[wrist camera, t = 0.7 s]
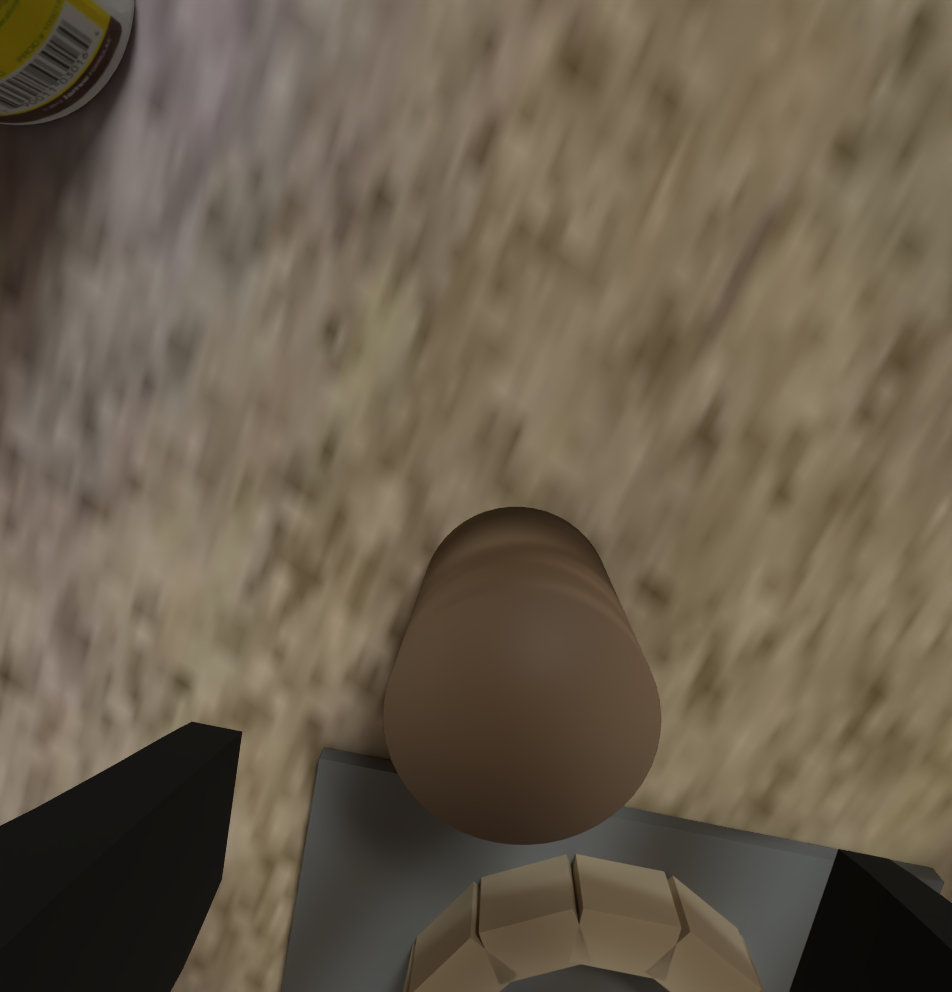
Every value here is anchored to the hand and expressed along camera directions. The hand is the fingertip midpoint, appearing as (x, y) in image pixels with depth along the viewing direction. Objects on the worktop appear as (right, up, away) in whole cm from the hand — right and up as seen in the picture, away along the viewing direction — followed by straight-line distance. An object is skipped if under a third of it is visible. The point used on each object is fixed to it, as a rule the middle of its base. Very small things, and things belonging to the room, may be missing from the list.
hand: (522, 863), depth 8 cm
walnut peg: (0, +2, +9) cm, 9 cm away
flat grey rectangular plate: (+2, -9, +11) cm, 15 cm away
